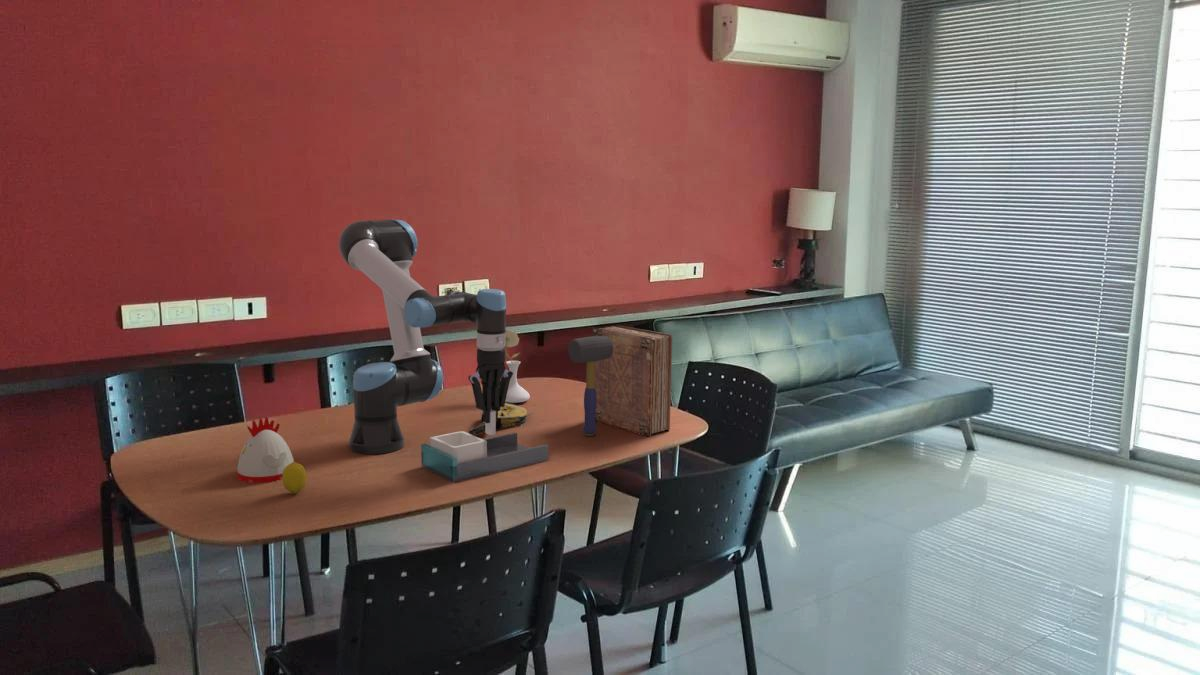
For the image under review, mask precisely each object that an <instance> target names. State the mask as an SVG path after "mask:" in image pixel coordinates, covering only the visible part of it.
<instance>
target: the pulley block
mask: <svg viewBox="0 0 1200 675" xmlns="http://www.w3.org/2000/svg"><path fill="white" fill-rule="evenodd" d="M533 414H534V412H532V413H530V414H528V411H527V409H526V408H525V407H523V406H519V405H516V404H515V403H507V402H505V405H504V407H501V408H500V411H498V420H497V421H496V431H498V430H499V431H500V430H503V429H509V428H515V426H516V427H520V425H521V424H522V425H524V424H525V423H526V422H527V419H526V418H528V417H530V416H531V415H533ZM480 420H481V423H480V424H478V425H476V426H473V427H471V429H469V430H468V433H469V434H471V435H473V436H477V435H478V434H481V433H485V422H484V421H483V411H482V413H481V419H480ZM523 423H524V424H523ZM522 425H521V426H522Z"/></svg>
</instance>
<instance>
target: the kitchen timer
mask: <svg viewBox="0 0 1200 675" xmlns="http://www.w3.org/2000/svg"><path fill="white" fill-rule="evenodd" d="M264 418H265V419H264V422H263V418H261V417H260V418H259V420H258V425H257V423H256V421H255V420H254V419H252V423H251V424H252V426H248V425H247V426H246V427H247V429H248V431H249V433H250V437H249V438H248V439H247V440H246V442H245V444H244V445H243V448H242V449H241V451H240V455H239V458H238V461H237V470H236V473H237V479H238V480H239V479H240V481H241V482H244V481H245V483H249V482H254V483H253V484H256V483H255V482H267V483H273V482H272V481H274V482H278V481H277V480H279V481H282V480H281V479H282V475H283V471H284V469H285V467H286V466H288V465H289V464H291V463H292V462H295V461H294V460H295V459H294V456H293V454H292V450H291V448H290V447H289V445H288V443H287V442H286V441H285V439H284V438H283V436H281V435H280V434H278V431H279V428H280V423H276V425H275V424H274V423H275V421H274V419H271V421H270V423H269V418H268V417H267V416H265V417H264ZM274 425H275V427H274ZM251 427H252V428H251Z"/></svg>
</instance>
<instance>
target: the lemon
mask: <svg viewBox="0 0 1200 675" xmlns="http://www.w3.org/2000/svg"><path fill="white" fill-rule="evenodd" d="M307 477H308V476H307V472H306V469H305V468H304V466H303V465H302V464H300V463H298V462H296V461H294V462H292V463H291V464H289V465H288V466H286V467H285V469H284V471H283V475H282V480H281V481H282V485H283V487H284V488H285V489H286V490H287V491H288V492H290V493H293V495H294V494H296V495H297V494H298V493H299V491H302V490H304V488H305V486H306V484H307Z"/></svg>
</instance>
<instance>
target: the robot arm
mask: <svg viewBox="0 0 1200 675" xmlns="http://www.w3.org/2000/svg"><path fill="white" fill-rule="evenodd" d="M417 249H418V237H417V234H416V232H415V230H414V228H413V227H412V226H411V225H410V224H408V223H407V222H406V221H404V220H401V219H393V218H389V219H375V220H356V221H354V222H351V223H350V224H348V225H347V226H346V227H344V228H343V230H342V231H341V234H340V235H339V238H338V250H339V253H340V255H341V257H342V259H343V260H344V261H345V263H347V265H349V267H351V268H352V269H354V270H355V271H360V272H362V273H363V274H364V275H366V276H367V277H368V278H369V279H370V280H371V281H372V282H373V283H375V285H376V286H378V287H379V288H380V289H381V290H382V295H383V299H384V300H383V302H384V306H385V310H386V316H387V321H388V322H387V323H388V326H389V332H390V337H391V343H392V348H393V356H392V357H391V359H390V360H389V361H380V362H372V363H368V364H365V365H362V366H360V367H359V368H356V370H355V371H354V373H353V382H352V388H353V404H354V405H353V407H354V408H353V409H354V422H353V423H354V424H353V426H352V429H351V432H350V437H349V439H348V445H349V446H348V447H349V448H348V449H349V450H351V452H354V453H357V454H365V455H366V454H367V455H377V454H387V453H392V452H396V451H398V450H401V449H403V447H404V446H405V436H404V434H403V431H402V429H401V425H400V423H399V421H398V407H403V406H406V405H412V404H416V403H423V402H427V401H428V400H429V401H430V400H433V399H434V398H436V397H437V396H438V395H439V393H440V392H441V390H442V387H443V382H444V374H443V370H442V367H441V365H439V362H438V361H436V360H434V359H432V357H431V353H430V352H429V351H428V350H426V349H425V348H424V347H425V346H424V342H423V337H422V332H421V328H424V329H425V328H429V327H435V326H442V325H448V324H456V323H463V322H470V323H472V324H473V323H474V324H476V346H477V349H476V363H477V366H476V369H475V372H474V373H473V374H471V375H469V376H468V378H467V379H468V381H469V382H470V383H471V388H472V392H473V397H474V402H475V407H476V408H477V409H478V410H480V411H482V412H483V421H484V422H485V431H484V433H485V434H487V435H489V436H495V435H496V433H497V432H496V431H497V430H496V421H497V420H498V411H500V408H501V407H504V405H505V401H506V396H507V391H508V387H509V382H510V379H511V377H512V375H513V372H511V371H510V370H508V369H507V368H506V365H505V363H506V356H505V353H506V346H505V332H506V330H505V329H507V327H506V323H507V321H506V318H507V299H506V296H507V295H506V292H505V291H504V290H502V289H497V288H484V289H479V290H478V291H477V294H474V293H470V292H469V293H468V292H466V291H452V292H450V293H449V294H447V295H446V294H445V295H435V296H434V295H432V294H431V293H430V292H428V291H427V290H426V289H425V288H424V287H423V286H421V285H420V283H418V282H417V281H416V279H415V280H414V279H413V278H412V277H411V275H410V273H411V272H410V268H411V266H412V264H413V262H414V261H413V257H414V256H416V254H417V252H418V251H417ZM480 382H481V383H480Z"/></svg>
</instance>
